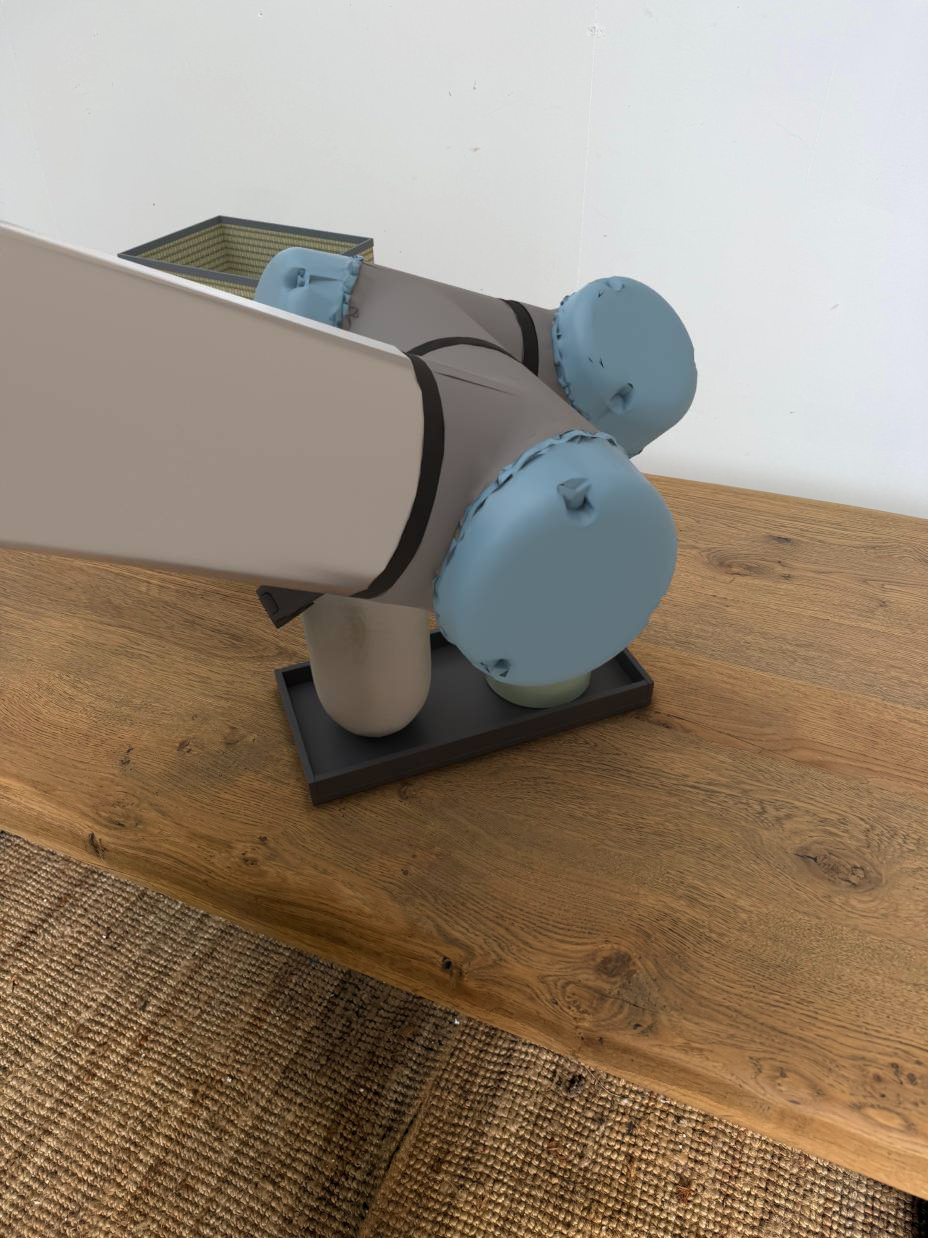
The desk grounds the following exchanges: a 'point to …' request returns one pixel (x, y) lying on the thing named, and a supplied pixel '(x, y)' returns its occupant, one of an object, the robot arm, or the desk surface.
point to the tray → (441, 721)
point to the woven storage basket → (237, 251)
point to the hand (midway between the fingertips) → (342, 573)
